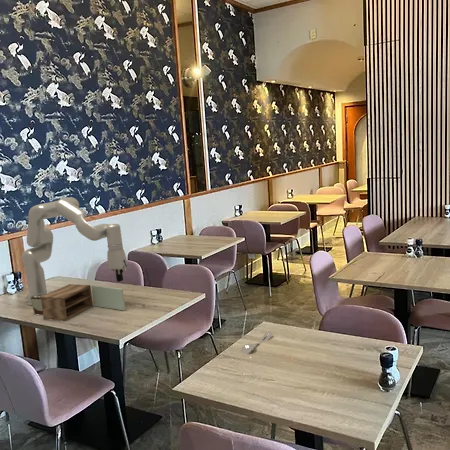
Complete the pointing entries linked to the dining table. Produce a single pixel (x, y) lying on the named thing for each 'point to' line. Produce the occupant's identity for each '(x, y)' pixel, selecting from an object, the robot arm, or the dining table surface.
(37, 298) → the food container
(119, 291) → the cabinet door
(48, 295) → the wooden shelf
